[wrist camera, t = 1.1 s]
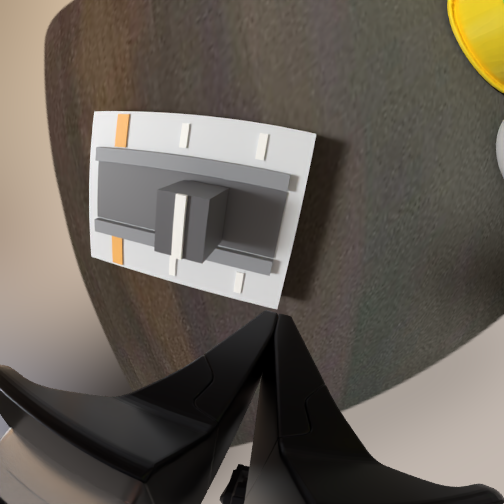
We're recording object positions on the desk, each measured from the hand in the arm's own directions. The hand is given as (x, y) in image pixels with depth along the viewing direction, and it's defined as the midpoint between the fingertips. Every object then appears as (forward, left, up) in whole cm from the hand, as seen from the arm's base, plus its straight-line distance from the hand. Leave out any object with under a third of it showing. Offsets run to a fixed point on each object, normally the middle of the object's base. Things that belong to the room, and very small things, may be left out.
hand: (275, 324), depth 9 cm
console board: (0, +8, -12) cm, 14 cm away
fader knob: (0, +6, -10) cm, 11 cm away
